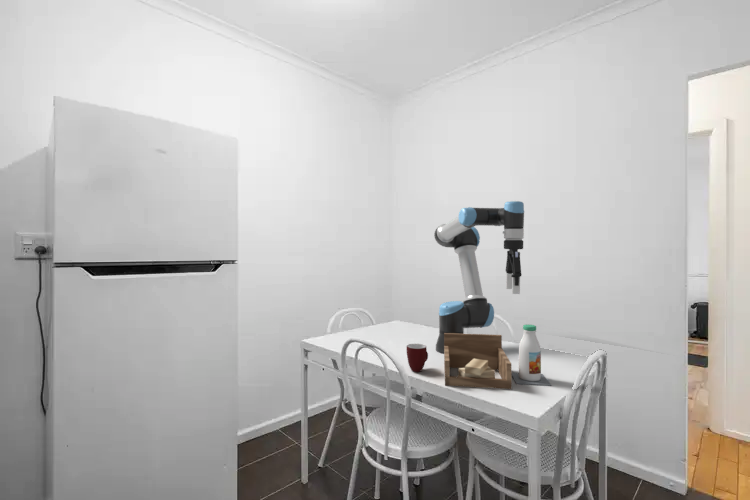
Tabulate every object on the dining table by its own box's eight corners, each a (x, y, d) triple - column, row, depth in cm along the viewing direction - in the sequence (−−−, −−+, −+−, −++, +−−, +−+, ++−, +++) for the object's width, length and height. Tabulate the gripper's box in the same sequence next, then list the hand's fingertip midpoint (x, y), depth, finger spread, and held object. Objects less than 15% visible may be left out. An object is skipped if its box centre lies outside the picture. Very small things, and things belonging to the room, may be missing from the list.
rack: (444, 366, 158) (444, 333, 158) (501, 368, 154) (501, 334, 154) (445, 385, 136) (444, 346, 136) (511, 389, 132) (511, 349, 132)
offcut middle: (458, 374, 142) (458, 368, 142) (487, 372, 144) (487, 366, 144) (464, 379, 136) (464, 372, 136) (494, 377, 138) (494, 370, 138)
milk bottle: (520, 381, 139) (520, 327, 139) (517, 374, 146) (517, 323, 146) (543, 382, 137) (542, 327, 137) (538, 375, 145) (538, 323, 145)
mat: (510, 373, 149) (510, 372, 149) (542, 374, 147) (542, 373, 147) (516, 384, 137) (516, 382, 137) (551, 385, 135) (551, 384, 135)
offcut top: (465, 373, 136) (464, 366, 136) (473, 364, 145) (473, 358, 145) (480, 375, 133) (480, 368, 133) (488, 367, 143) (488, 360, 143)
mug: (417, 364, 160) (417, 341, 160) (433, 368, 155) (433, 344, 155) (402, 370, 152) (402, 346, 152) (419, 375, 147) (419, 349, 147)
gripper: (499, 239, 166) (498, 286, 167) (509, 239, 142) (508, 295, 142) (517, 239, 165) (516, 287, 166) (530, 239, 140) (529, 296, 141)
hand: (512, 291), depth 154 cm, fingers open, 13 cm apart
